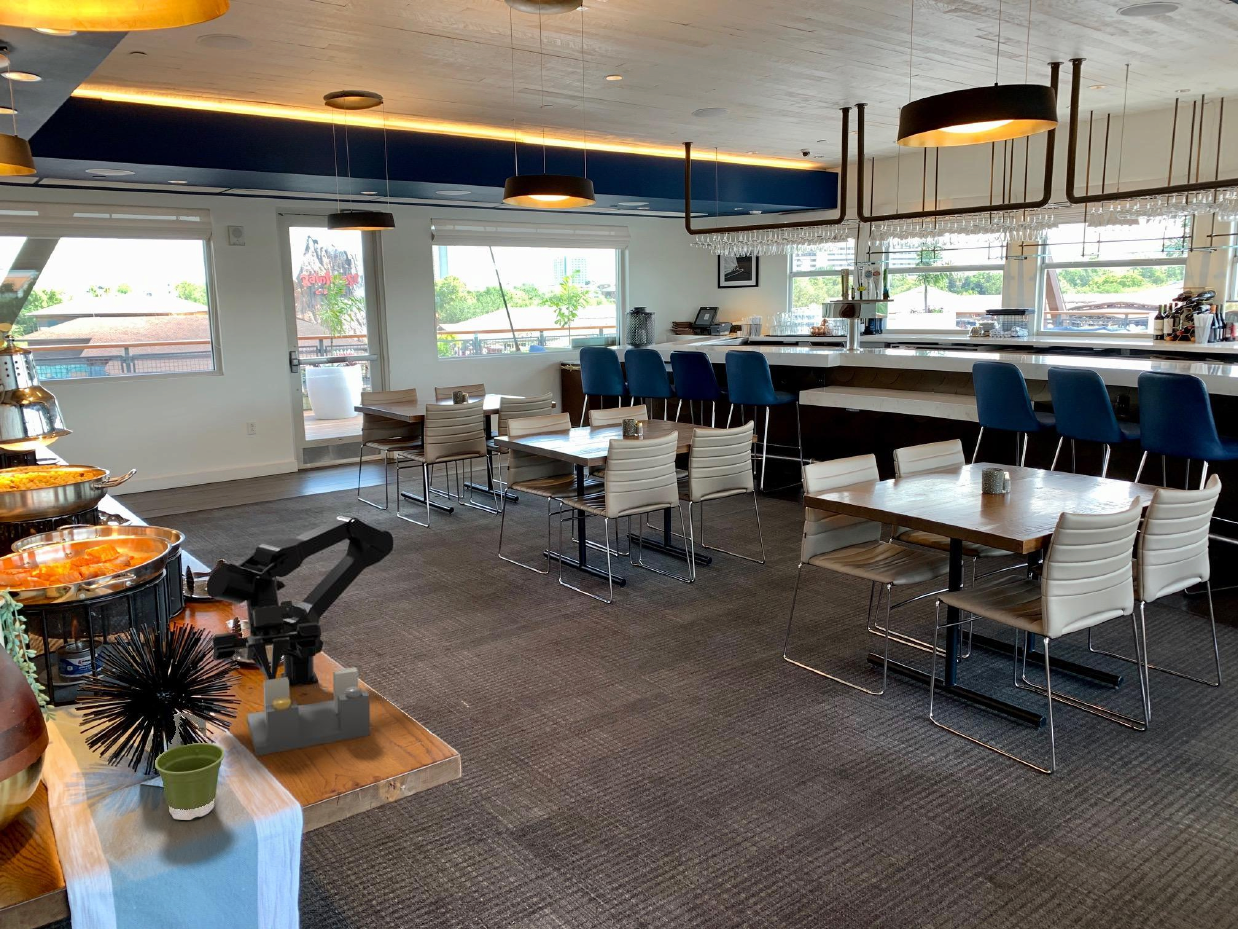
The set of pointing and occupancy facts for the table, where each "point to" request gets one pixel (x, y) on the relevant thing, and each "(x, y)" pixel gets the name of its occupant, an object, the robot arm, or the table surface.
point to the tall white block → (275, 691)
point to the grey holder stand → (310, 722)
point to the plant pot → (190, 774)
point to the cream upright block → (343, 682)
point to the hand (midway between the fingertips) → (272, 683)
